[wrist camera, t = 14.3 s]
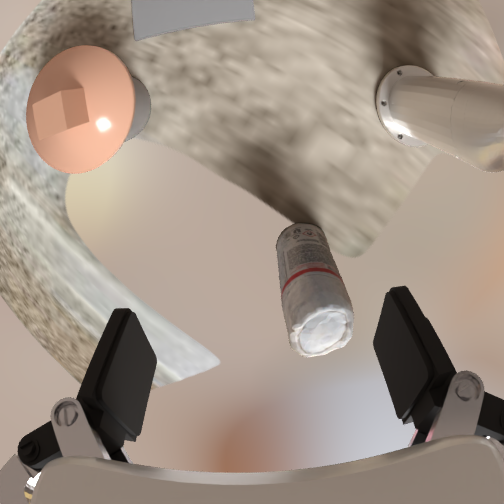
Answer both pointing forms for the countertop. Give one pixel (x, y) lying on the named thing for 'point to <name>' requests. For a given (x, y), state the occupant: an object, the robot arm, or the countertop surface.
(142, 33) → the mat
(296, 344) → the spray can
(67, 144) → the lid
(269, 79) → the countertop surface
